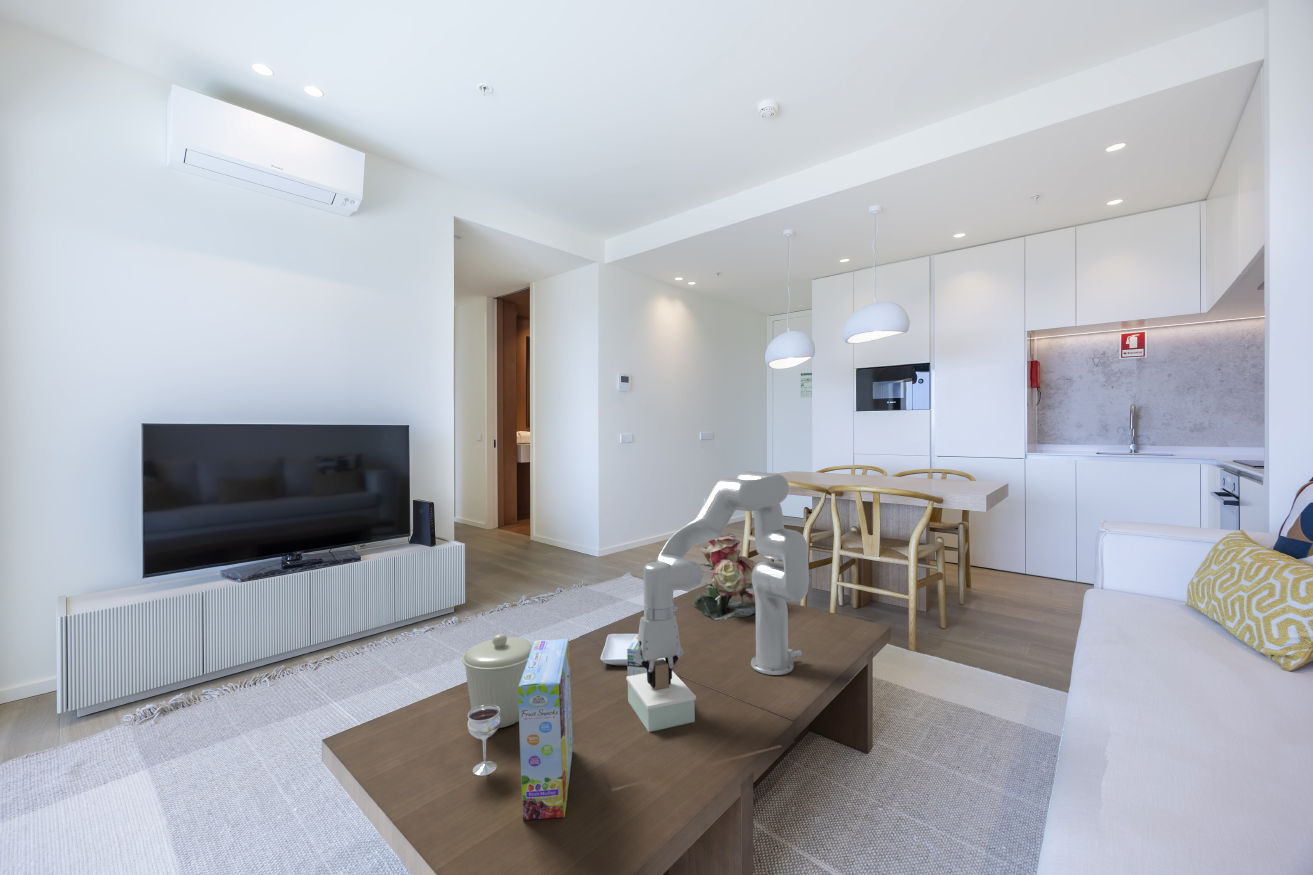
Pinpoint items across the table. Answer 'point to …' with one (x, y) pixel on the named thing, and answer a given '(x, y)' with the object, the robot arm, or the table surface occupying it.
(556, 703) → the snack box
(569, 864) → the table surface
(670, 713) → the box
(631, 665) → the light bulb box
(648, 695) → the lid
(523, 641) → the canister
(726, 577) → the rose bouquet
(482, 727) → the wineglass
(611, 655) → the salad plate
